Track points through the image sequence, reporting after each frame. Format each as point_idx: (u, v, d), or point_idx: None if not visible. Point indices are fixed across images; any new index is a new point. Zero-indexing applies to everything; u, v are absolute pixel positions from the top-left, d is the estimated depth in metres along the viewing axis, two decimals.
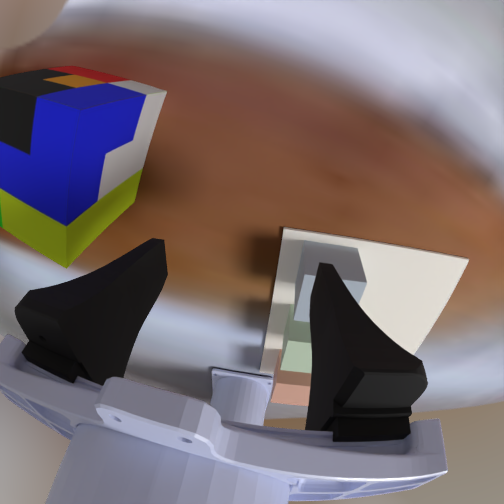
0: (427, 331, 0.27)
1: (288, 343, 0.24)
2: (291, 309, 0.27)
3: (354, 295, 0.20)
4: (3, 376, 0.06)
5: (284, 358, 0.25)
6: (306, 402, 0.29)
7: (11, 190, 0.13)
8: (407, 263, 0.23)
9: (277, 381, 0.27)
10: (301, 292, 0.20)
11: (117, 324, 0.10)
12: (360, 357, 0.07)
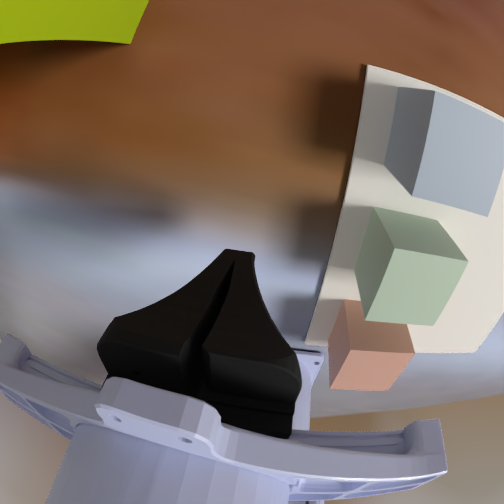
0: None
1: (393, 255, 0.12)
2: (378, 212, 0.15)
3: (499, 149, 0.08)
4: (3, 376, 0.06)
5: (378, 293, 0.13)
6: (385, 383, 0.17)
7: None
8: None
9: (352, 347, 0.16)
10: (429, 130, 0.09)
11: None
12: (218, 340, 0.07)
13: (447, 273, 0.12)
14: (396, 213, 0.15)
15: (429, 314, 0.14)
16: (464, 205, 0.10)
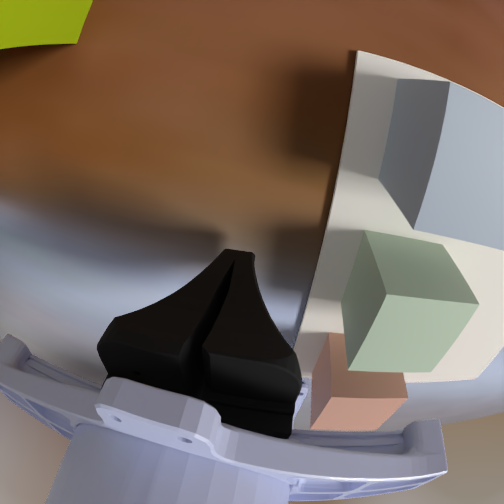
0: None
1: (385, 302, 0.09)
2: (369, 237, 0.12)
3: None
4: (3, 376, 0.06)
5: (365, 343, 0.10)
6: (373, 424, 0.15)
7: None
8: None
9: (333, 393, 0.13)
10: (442, 137, 0.06)
11: None
12: (218, 339, 0.07)
13: (452, 319, 0.09)
14: (393, 238, 0.12)
15: (426, 361, 0.11)
16: (481, 239, 0.07)
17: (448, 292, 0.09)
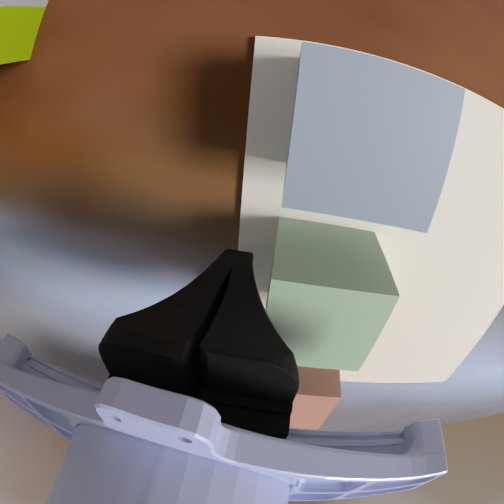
0: None
1: (272, 288, 0.10)
2: (281, 224, 0.12)
3: (441, 125, 0.06)
4: (3, 376, 0.06)
5: None
6: (312, 423, 0.15)
7: None
8: (494, 134, 0.09)
9: None
10: (298, 103, 0.06)
11: None
12: (215, 339, 0.07)
13: (365, 311, 0.10)
14: (310, 225, 0.13)
15: (348, 358, 0.11)
16: (380, 217, 0.08)
17: (357, 281, 0.10)
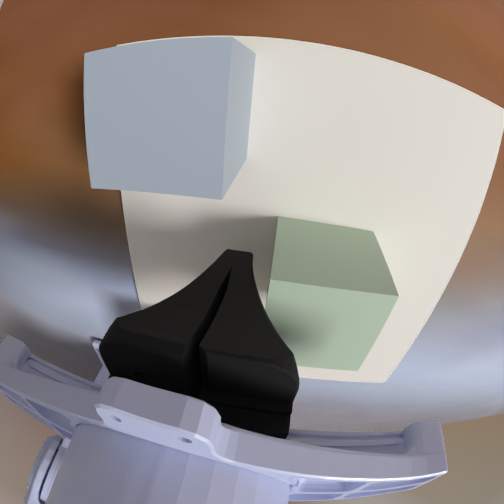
0: (447, 278, 0.14)
1: (271, 288, 0.10)
2: (280, 224, 0.12)
3: (206, 82, 0.06)
4: (3, 376, 0.06)
5: None
6: None
7: None
8: (380, 91, 0.09)
9: None
10: (86, 102, 0.07)
11: None
12: (215, 339, 0.07)
13: (364, 311, 0.10)
14: (309, 224, 0.13)
15: (347, 358, 0.11)
16: (165, 187, 0.08)
17: (356, 281, 0.10)
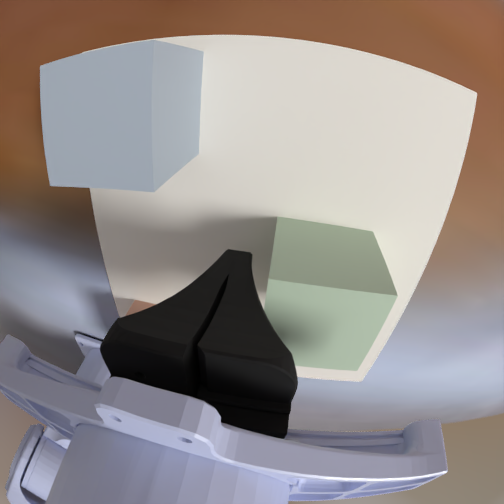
0: (418, 273, 0.14)
1: (269, 288, 0.10)
2: (279, 224, 0.12)
3: (133, 84, 0.06)
4: (3, 376, 0.06)
5: None
6: None
7: None
8: (330, 78, 0.09)
9: None
10: (42, 109, 0.07)
11: None
12: (214, 339, 0.07)
13: (363, 311, 0.10)
14: (308, 224, 0.13)
15: (347, 358, 0.11)
16: (107, 182, 0.08)
17: (355, 280, 0.10)
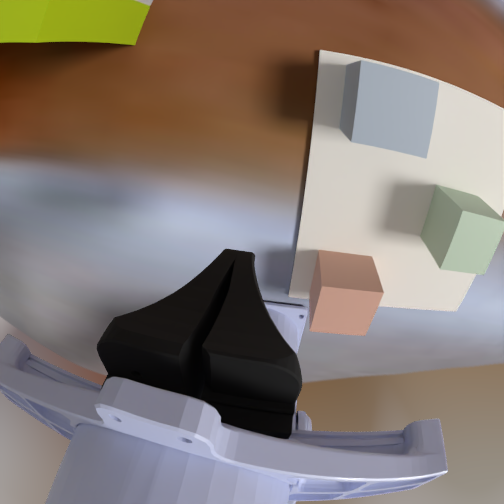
0: None
1: (462, 216, 0.15)
2: (441, 188, 0.18)
3: (427, 101, 0.12)
4: (3, 376, 0.06)
5: (451, 245, 0.16)
6: (361, 327, 0.21)
7: None
8: (467, 110, 0.15)
9: (323, 284, 0.19)
10: (359, 90, 0.12)
11: None
12: (218, 339, 0.07)
13: (493, 231, 0.15)
14: (452, 190, 0.18)
15: (481, 264, 0.16)
16: (400, 148, 0.13)
17: (489, 214, 0.15)
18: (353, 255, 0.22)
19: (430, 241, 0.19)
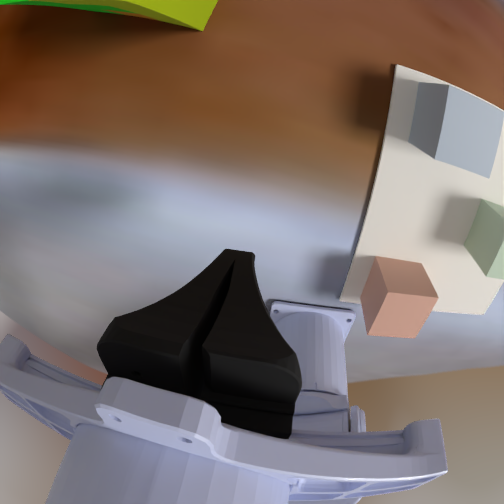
0: None
1: None
2: (486, 202, 0.17)
3: (495, 128, 0.11)
4: (3, 376, 0.06)
5: (497, 255, 0.15)
6: (413, 330, 0.20)
7: None
8: None
9: (388, 290, 0.19)
10: (445, 112, 0.12)
11: None
12: (218, 340, 0.07)
13: None
14: (494, 204, 0.17)
15: None
16: (471, 168, 0.13)
17: None
18: (406, 262, 0.22)
19: (475, 250, 0.18)
